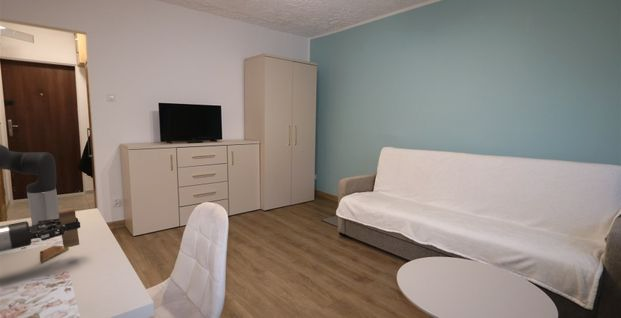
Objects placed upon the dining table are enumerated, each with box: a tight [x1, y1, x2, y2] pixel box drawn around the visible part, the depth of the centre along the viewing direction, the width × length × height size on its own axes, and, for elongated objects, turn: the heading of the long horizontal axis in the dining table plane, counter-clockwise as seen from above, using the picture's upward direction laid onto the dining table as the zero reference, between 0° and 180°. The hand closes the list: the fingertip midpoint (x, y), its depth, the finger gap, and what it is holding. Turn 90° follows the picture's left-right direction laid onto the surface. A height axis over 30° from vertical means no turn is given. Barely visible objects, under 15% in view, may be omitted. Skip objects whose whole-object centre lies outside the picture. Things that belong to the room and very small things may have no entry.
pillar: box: [58, 207, 80, 248], centre depth 103 cm, size 4×4×12 cm
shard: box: [39, 245, 70, 264], centre depth 109 cm, size 11×8×2 cm
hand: (78, 222), depth 105 cm, fingers closed on pillar, 4 cm apart
